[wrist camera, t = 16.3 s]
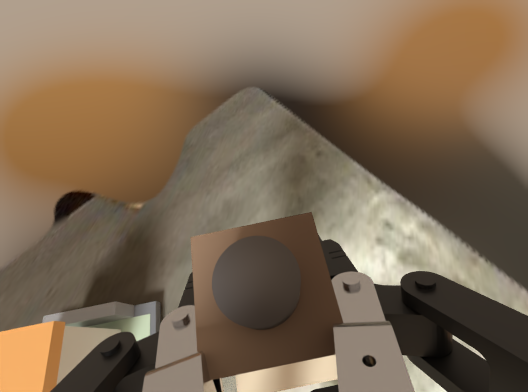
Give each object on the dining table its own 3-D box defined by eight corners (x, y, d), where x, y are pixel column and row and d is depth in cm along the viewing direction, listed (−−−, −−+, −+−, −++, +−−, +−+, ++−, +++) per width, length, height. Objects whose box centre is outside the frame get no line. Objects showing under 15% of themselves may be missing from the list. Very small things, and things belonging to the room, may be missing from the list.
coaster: (240, 397, 22) (238, 399, 21) (227, 283, 26) (225, 281, 26) (350, 374, 22) (353, 375, 21) (320, 263, 26) (321, 261, 26)
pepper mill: (255, 358, 15) (179, 391, 5) (245, 291, 17) (175, 221, 7) (319, 345, 15) (362, 352, 5) (303, 279, 17) (313, 192, 7)
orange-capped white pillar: (66, 397, 22) (-39, 423, 15) (74, 336, 24) (-16, 335, 17) (120, 386, 22) (39, 407, 15) (123, 326, 24) (53, 320, 17)
